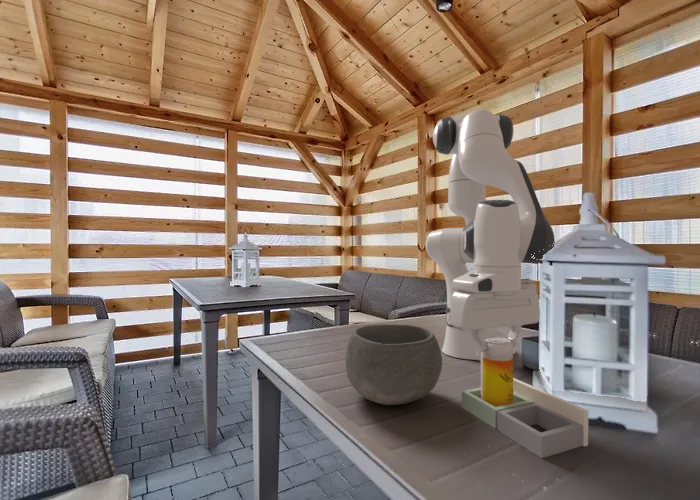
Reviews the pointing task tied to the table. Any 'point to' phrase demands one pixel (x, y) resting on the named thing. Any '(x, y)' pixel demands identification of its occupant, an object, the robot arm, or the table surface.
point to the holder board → (533, 419)
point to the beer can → (497, 371)
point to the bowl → (393, 362)
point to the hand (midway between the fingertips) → (496, 348)
